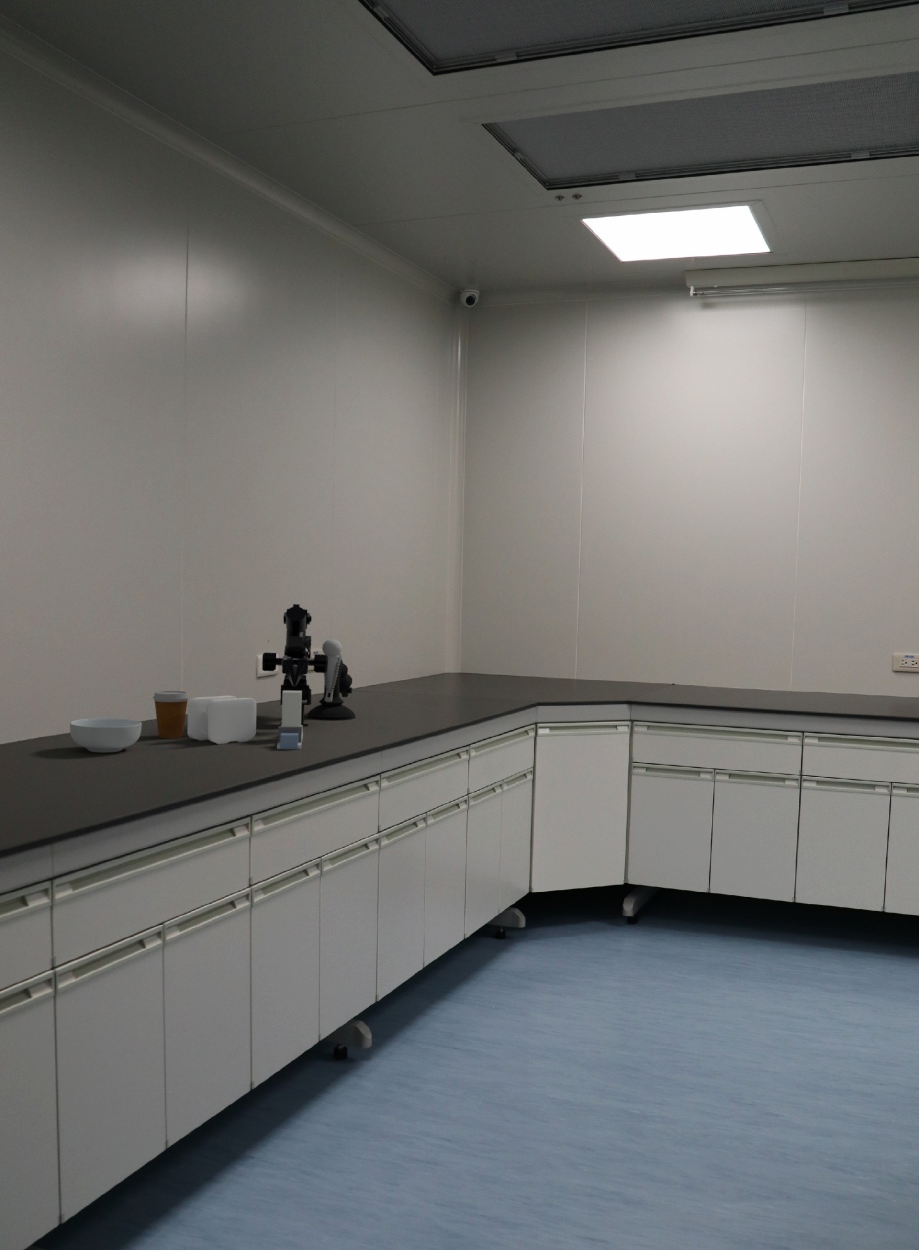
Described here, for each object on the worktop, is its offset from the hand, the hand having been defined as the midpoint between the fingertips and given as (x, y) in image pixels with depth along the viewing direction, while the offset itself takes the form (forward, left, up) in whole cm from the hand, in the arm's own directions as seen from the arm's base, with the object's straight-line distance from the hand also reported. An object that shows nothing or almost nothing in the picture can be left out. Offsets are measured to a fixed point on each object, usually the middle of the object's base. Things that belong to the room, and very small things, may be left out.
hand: (294, 685), depth 297 cm
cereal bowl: (+11, -55, -14) cm, 58 cm away
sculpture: (-30, +27, -14) cm, 42 cm away
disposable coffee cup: (-5, -34, -14) cm, 37 cm away
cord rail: (+17, -8, -13) cm, 23 cm away
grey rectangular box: (+12, -6, -12) cm, 18 cm away
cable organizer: (+7, -24, -14) cm, 29 cm away
